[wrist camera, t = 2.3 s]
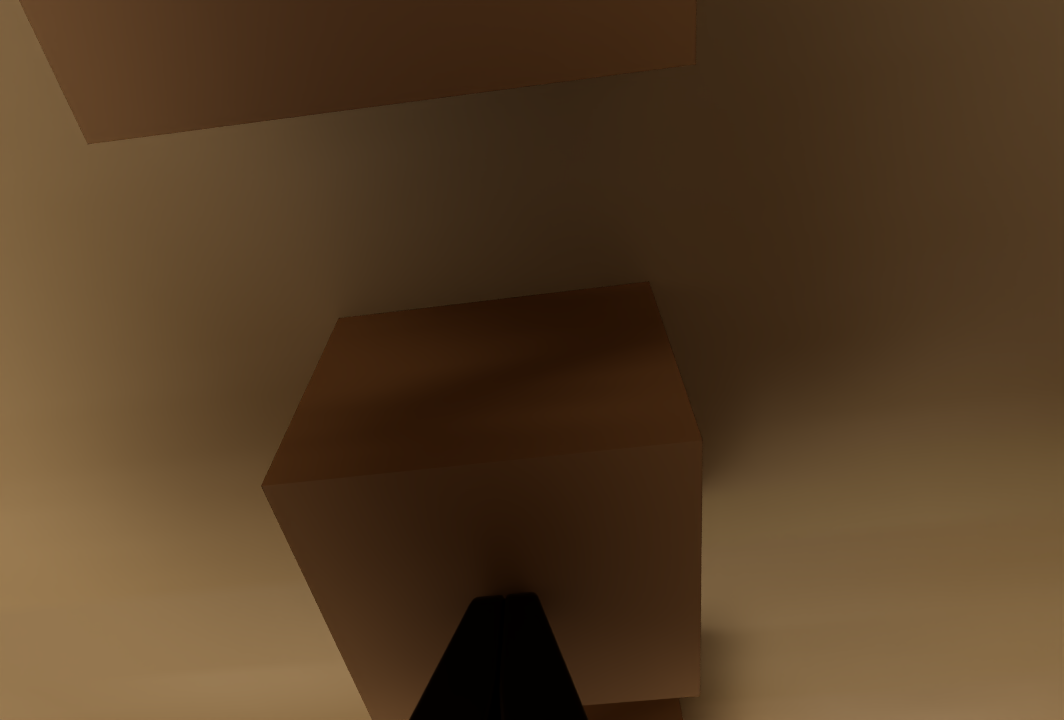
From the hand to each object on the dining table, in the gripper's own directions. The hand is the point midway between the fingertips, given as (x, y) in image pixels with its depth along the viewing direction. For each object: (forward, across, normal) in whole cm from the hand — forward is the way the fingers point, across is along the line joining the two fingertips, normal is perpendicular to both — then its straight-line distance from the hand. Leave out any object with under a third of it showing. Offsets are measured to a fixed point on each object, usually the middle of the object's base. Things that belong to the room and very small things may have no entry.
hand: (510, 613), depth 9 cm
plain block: (+4, 0, 0) cm, 4 cm away
